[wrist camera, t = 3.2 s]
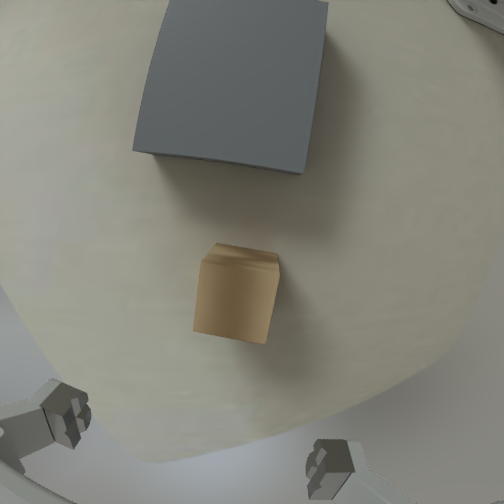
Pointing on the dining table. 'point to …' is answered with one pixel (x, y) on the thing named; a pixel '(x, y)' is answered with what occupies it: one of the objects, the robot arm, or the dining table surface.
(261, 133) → the slate base
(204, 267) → the oak block
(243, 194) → the dining table surface
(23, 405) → the robot arm
